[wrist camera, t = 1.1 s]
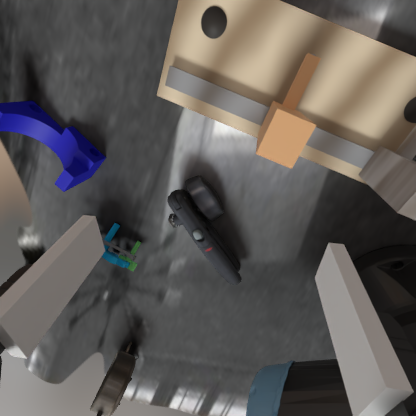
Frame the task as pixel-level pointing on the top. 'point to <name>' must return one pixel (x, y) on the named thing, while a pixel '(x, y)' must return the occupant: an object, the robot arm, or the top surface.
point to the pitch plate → (314, 93)
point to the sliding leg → (288, 121)
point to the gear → (114, 257)
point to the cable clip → (53, 140)
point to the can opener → (203, 224)
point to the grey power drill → (114, 383)
